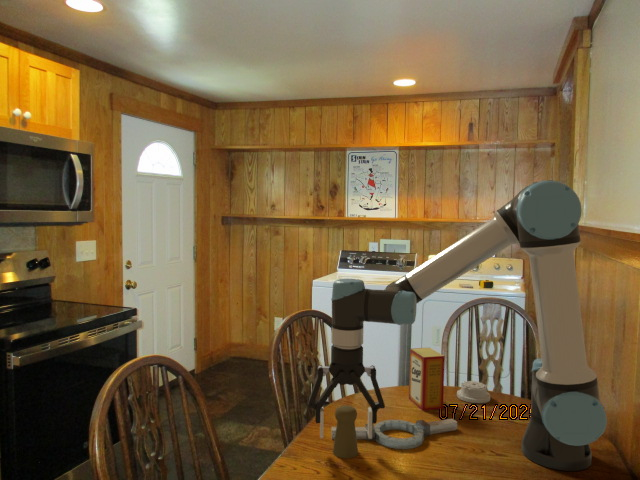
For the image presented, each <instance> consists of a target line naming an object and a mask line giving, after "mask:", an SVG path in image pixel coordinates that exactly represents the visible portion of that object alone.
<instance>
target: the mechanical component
mask: <svg viewBox="0 0 640 480" xmlns="http://www.w3.org/2000/svg"><path fill="white" fill-rule="evenodd" d="M463 381H464V380H463ZM487 387H488V386H487V385H486V384H484V383H483V382H478V381H475V380H472V381H471V380H467V381H464V382H461V387H460V389H457V392H456V397H457V398H458V399H459V400H460V401H461V400H462V401H464V402H467V403H471V404H486V403H488V402H490V401H491V393H489V392H487V391H488V390H487Z"/></svg>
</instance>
